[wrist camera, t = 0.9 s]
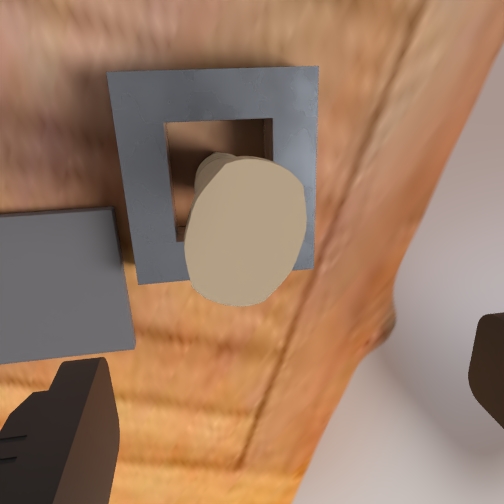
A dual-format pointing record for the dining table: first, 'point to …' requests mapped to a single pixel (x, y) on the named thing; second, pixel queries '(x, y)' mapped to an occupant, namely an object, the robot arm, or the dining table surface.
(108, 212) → the mat
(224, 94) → the holder
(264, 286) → the handle
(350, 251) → the dining table surface
